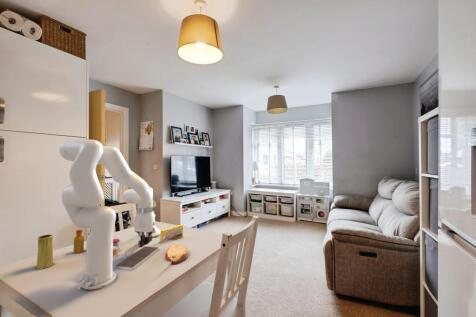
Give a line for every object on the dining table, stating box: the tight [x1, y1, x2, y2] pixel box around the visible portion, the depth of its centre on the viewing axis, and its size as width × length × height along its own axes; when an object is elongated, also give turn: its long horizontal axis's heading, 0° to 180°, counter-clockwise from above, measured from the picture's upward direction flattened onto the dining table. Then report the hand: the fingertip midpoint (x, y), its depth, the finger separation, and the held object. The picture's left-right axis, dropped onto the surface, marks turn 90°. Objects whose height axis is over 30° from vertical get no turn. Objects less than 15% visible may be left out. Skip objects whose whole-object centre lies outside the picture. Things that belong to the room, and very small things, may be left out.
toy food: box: [72, 229, 121, 256], centre depth 122 cm, size 27×13×12 cm, turn 73°
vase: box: [35, 234, 54, 270], centre depth 105 cm, size 6×6×14 cm
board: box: [115, 245, 159, 269], centre depth 115 cm, size 24×9×1 cm, turn 171°
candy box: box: [159, 224, 184, 243], centre depth 141 cm, size 16×2×8 cm, turn 143°
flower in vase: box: [144, 199, 161, 238], centre depth 150 cm, size 13×11×25 cm
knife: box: [125, 235, 153, 258], centre depth 115 cm, size 21×2×3 cm, turn 171°
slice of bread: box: [165, 243, 189, 265], centre depth 119 cm, size 18×18×4 cm
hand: (145, 243), depth 120 cm, fingers closed on knife, 2 cm apart
